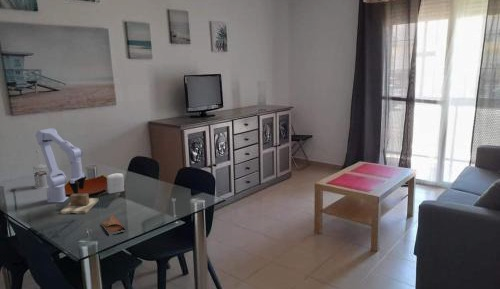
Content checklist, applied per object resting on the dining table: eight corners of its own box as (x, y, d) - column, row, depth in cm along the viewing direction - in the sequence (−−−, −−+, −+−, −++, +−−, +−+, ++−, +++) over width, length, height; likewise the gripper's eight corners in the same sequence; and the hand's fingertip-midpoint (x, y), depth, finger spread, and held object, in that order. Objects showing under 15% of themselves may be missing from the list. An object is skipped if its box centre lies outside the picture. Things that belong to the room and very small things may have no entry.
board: (60, 213, 212) (60, 211, 212) (75, 200, 231) (74, 198, 230) (85, 213, 212) (85, 210, 212) (98, 200, 231) (98, 198, 230)
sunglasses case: (98, 223, 199) (104, 211, 200) (110, 227, 204) (116, 215, 204) (108, 236, 185) (114, 224, 186) (121, 240, 189) (127, 227, 190)
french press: (39, 189, 249) (34, 153, 243) (29, 186, 255) (24, 150, 249) (53, 185, 257) (48, 149, 251) (43, 182, 263) (39, 147, 257)
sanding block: (70, 205, 219) (69, 196, 218) (73, 203, 223) (72, 193, 222) (86, 205, 219) (85, 195, 218) (89, 203, 223) (88, 193, 222)
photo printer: (123, 189, 250) (121, 171, 247) (125, 191, 247) (123, 173, 244) (107, 192, 245) (105, 174, 242) (108, 194, 241) (107, 175, 238)
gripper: (78, 172, 210) (80, 195, 213) (88, 165, 224) (90, 186, 227) (65, 172, 210) (67, 195, 213) (76, 165, 224) (78, 186, 227)
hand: (78, 191), depth 220 cm, fingers open, 7 cm apart
